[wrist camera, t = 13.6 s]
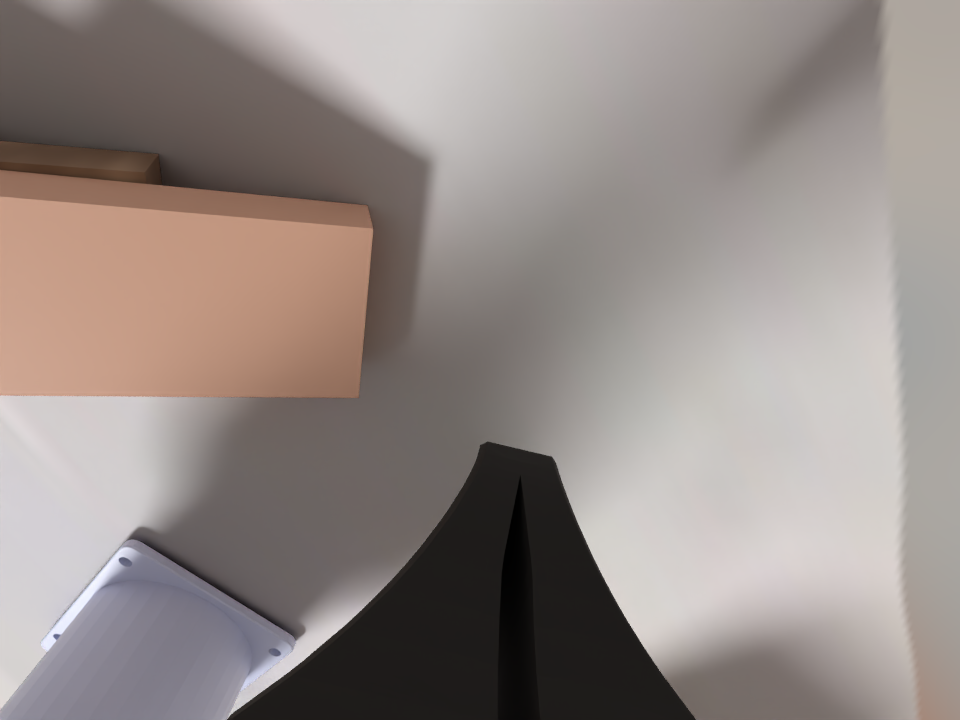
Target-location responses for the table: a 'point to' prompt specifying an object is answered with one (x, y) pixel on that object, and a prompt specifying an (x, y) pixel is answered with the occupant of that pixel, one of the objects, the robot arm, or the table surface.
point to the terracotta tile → (178, 291)
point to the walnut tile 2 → (81, 162)
